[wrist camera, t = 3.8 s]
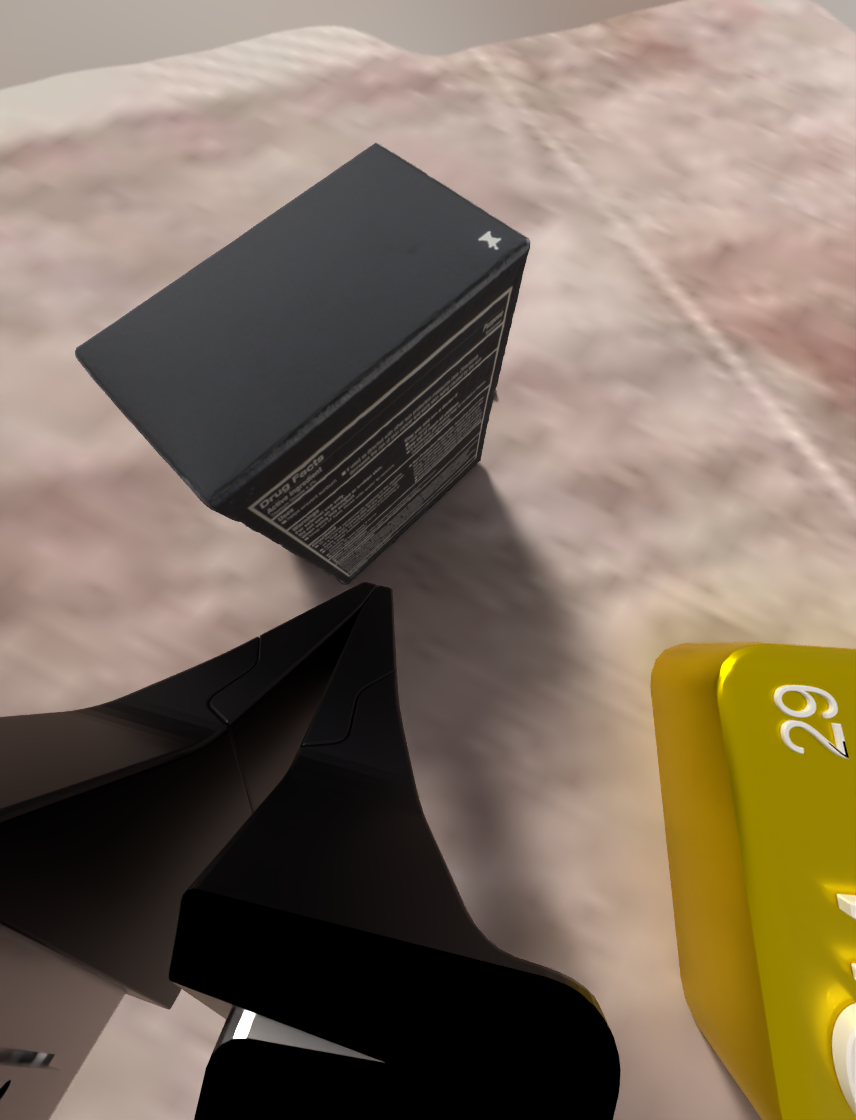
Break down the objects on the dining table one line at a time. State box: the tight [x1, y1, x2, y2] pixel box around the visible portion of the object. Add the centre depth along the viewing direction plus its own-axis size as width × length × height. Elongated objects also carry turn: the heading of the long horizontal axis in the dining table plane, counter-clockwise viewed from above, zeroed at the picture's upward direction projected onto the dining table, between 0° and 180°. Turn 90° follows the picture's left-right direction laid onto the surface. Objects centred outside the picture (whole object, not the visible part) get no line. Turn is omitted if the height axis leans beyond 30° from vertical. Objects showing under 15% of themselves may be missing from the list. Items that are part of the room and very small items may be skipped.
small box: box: [75, 143, 530, 584], centre depth 13 cm, size 11×6×10 cm, turn 135°
